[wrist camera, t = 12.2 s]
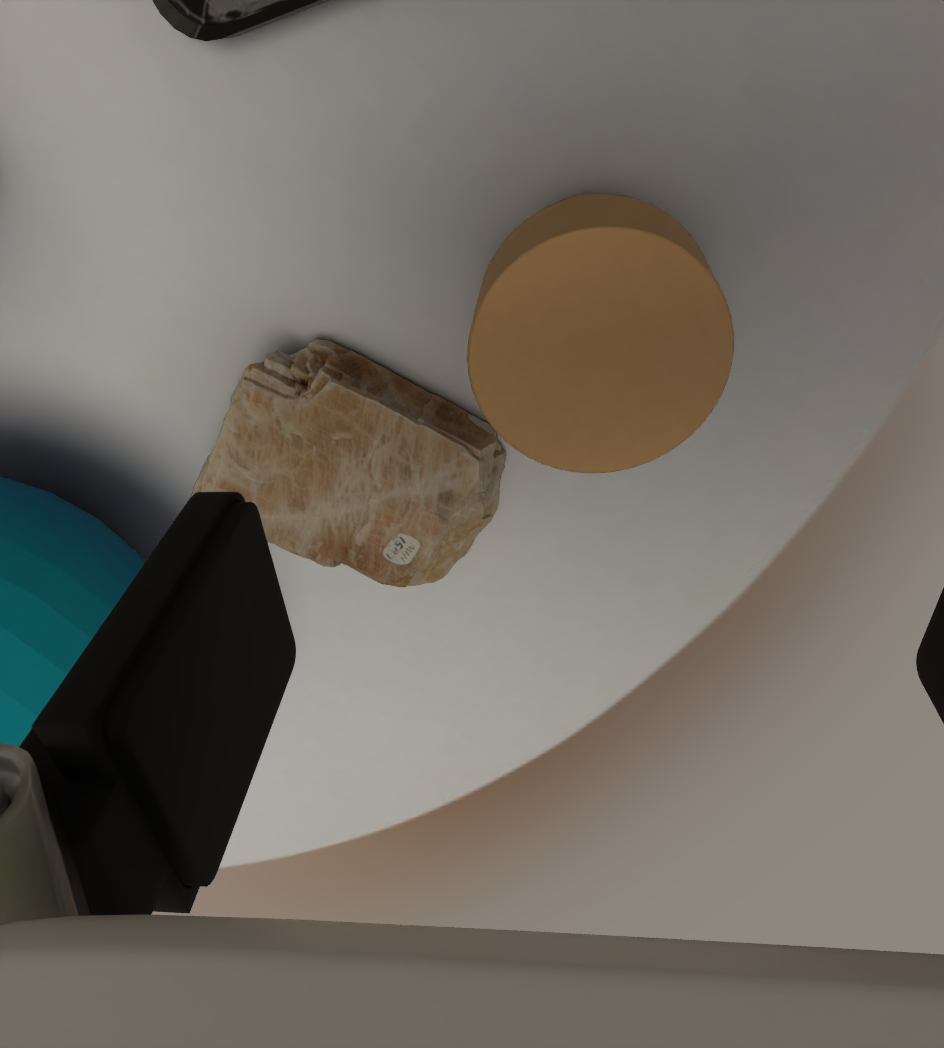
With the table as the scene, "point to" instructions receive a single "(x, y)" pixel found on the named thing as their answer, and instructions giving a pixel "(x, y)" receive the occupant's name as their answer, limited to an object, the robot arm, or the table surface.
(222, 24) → the phone
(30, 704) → the decorative orb
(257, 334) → the table surface
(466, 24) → the table surface
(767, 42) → the table surface
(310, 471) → the stone
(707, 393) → the cylinder
